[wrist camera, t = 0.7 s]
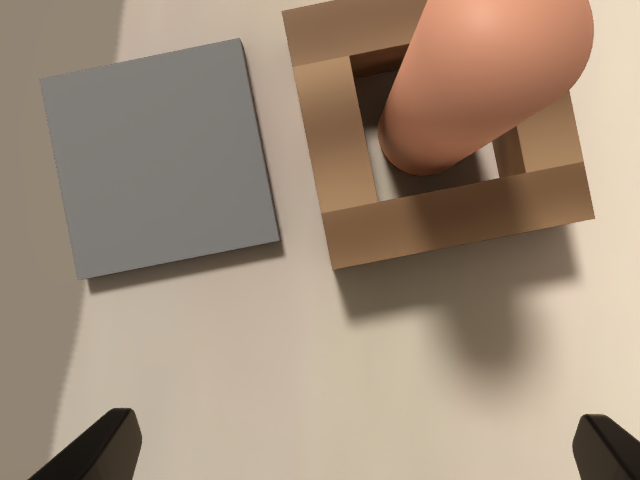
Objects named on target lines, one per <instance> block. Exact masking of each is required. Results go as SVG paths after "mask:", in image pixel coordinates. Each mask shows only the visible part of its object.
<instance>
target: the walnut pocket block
mask: <svg viewBox="0 0 640 480" xmlns="http://www.w3.org/2000/svg"><path fill="white" fill-rule="evenodd" d="M426 3H427V0H334V1H329V2H324V3H319V4H314V5H309V6H304V7H300V8H295V9H290V10H285V11H282V15H283V21H284V26H285V31H286V36H287V41H288V46H289V51H290V56H291V61H292V66H293V71H294V77H295V82H296V87H297V92H298V97H299V102H300V107H301V112H302V117H303V122H304V127H305V133H306V138H307V143H308V148H309V153H310V158H311V163H312V168H313V173H314V178H315V183H316V188H317V194H318V199H319V204H320V209H321V214H322V219H323V224H324V229H325V234H326V239H327V244H328V250H329V255H330V260H331V265H332V270H334V269H339V268H344V267H350V266H355V265H360V264H365V263H370V262H375V261H380V260H385V259H390V258H396V257H401V256H406V255H411V254H416V253H421V252H426V251H431V250H437V249H442V248H447V247H452V246H457V245H462V244H467V243H472V242H478V241H483V240H488V239H493V238H498V237H503V236H508V235H513V234H518V233H524V232H529V231H534V230H539V229H544V228H549V227H554V226H559V225H565V224H570V223H575V222H580V221H585V220H590V219H595V216H594V211H593V206H592V201H591V196H590V191H589V186H588V181H587V176H586V171H585V166H584V161H583V156H582V151H581V146H580V141H579V136H578V132H577V127H576V122H575V117H574V112H573V107H572V102H571V97H570V92H569V91H567V92H566V93H565V94H564V95H563V96H562V97H561V98H559V99H558V100H557V101H555V102H554V103H552V104H551V105H549V106H547V107H546V108H544V109H542V110H541V111H539V112H538V113H536V114H534V115H533V116H531V117H530V118H528V119H526V120H525V121H523V122H522V123H520V124H518V125H517V126H515V127H514V128H512V129H510V130H509V131H507V132H506V133H504V134H502V135H501V136H499V137H498V138H496V139H494V140H493V146H494V151H495V156H496V161H497V166H498V171H499V176H500V178H498V179H493V180H488V181H483V182H478V183H473V184H467V185H462V186H457V187H452V188H447V189H442V190H437V191H432V192H427V193H422V194H417V195H412V196H407V197H402V198H397V199H392V200H387V201H381V202H378V200H377V195H376V190H375V185H374V180H373V175H372V170H371V165H370V160H369V154H368V149H367V144H366V139H365V134H364V129H363V124H362V119H361V114H360V109H359V104H358V99H357V94H356V89H355V84H354V79H353V78H357V77H362V76H367V75H372V74H377V73H382V72H387V71H392V70H397V69H400V67H401V64H402V62H403V59H404V57H405V54H406V52H407V49H408V47H409V45H410V42H411V40H412V37H413V35H414V32H415V30H416V27H417V25H418V22H419V20H420V18H421V15H422V13H423V10H424V8H425V5H426Z"/></svg>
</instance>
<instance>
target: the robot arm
mask: <svg viewBox="0 0 640 480" xmlns="http://www.w3.org/2000/svg"><path fill="white" fill-rule="evenodd" d="M141 445H142V434H141V431H140V427H139V424H138V421H137V418H136V415H135V412H134V410H133V409H131V408H113V409H111V410H109V411H108V412H107V413H106V414H105V415H103V416H102V417H101V418H100V419H99V420H97V421H96V422H95V423H94V424H93V425H92V426H90V427H89V428H88V429H87V430H86V431H85V432H83V433H82V434H81V435H80V436H79V437H77V438H76V439H75V440H74V441H73V442H72V443H70V444H69V445H68V446H67V447H66V448H64V449H63V450H62V451H61V452H60V453H59V454H57V455H56V456H55V457H54V458H53V459H51V460H50V461H49V462H48V463H47V464H46V465H44V466H43V467H42V468H41V469H40V470H39V471H37V472H36V473H35V474H34V475H33V476H32V477H30V478H29V479H28V480H132V478H133V475H134V471H135V467H136V464H137V460H138V457H139V453H140V449H141ZM572 447H573V454H574V458H575V461H576V464H577V467H578V470H579V474H580V477H581V480H640V442H639V441H638V440H637V439H636V438H634V437H633V436H632V435H631V434H629V433H628V432H627V431H626V430H624V429H623V428H622V427H621V426H619V425H618V424H617V423H616V422H614V421H613V420H612V419H611V418H609V417H608V416H606V415H602V414H585V415H583V416H582V417H581V418H580V421H579V424H578V427H577V430H576V433H575V436H574V439H573V445H572Z"/></svg>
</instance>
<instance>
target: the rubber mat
mask: <svg viewBox="0 0 640 480" xmlns="http://www.w3.org/2000/svg"><path fill="white" fill-rule="evenodd" d="M40 84H41V90H42V95H43V100H44V106H45V111H46V116H47V121H48V126H49V131H50V137H51V142H52V147H53V152H54V158H55V163H56V168H57V173H58V178H59V184H60V189H61V194H62V199H63V205H64V210H65V215H66V221H67V225H68V231H69V236H70V241H71V246H72V252H73V257H74V262H75V267H76V273H77V278H78V280H82V279H88V278H94V277H99V276H104V275H109V274H114V273H119V272H124V271H129V270H134V269H139V268H144V267H149V266H154V265H160V264H165V263H170V262H175V261H180V260H185V259H190V258H195V257H200V256H205V255H210V254H215V253H221V252H226V251H231V250H236V249H241V248H246V247H251V246H256V245H261V244H266V243H271V242H276V241H281V238H280V233H279V227H278V222H277V217H276V212H275V207H274V202H273V197H272V192H271V187H270V181H269V176H268V171H267V166H266V161H265V156H264V151H263V146H262V141H261V135H260V130H259V125H258V120H257V115H256V110H255V105H254V100H253V95H252V89H251V84H250V79H249V74H248V69H247V64H246V59H245V54H244V48H243V44H242V42H241V40H240V38H237V39H232V40H227V41H222V42H217V43H213V44H208V45H203V46H198V47H193V48H188V49H183V50H178V51H174V52H169V53H164V54H159V55H154V56H149V57H144V58H139V59H135V60H130V61H125V62H120V63H115V64H111V65H105V66H101V67H96V68H91V69H86V70H81V71H76V72H71V73H67V74H61V75H57V76H52V77H47V78H42V79H40Z"/></svg>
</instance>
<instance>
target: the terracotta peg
mask: <svg viewBox="0 0 640 480" xmlns="http://www.w3.org/2000/svg"><path fill="white" fill-rule="evenodd" d="M593 37H594V23H593V16H592V11H591V7H590V4H589V1H588V0H427V3H426V5H425V8H424V10H423V13H422V15H421V18H420V20H419V22H418V25H417V27H416V30H415V32H414V35H413V37H412V40H411V42H410V45H409V47H408V49H407V52H406V54H405V57H404V59H403V62H402V64H401V67H400V69H399V72H398V74H397V76H396V79H395V81H394V84H393V86H392V89H391V91H390V94H389V96H388V99H387V101H386V103H385V106H384V108H383V111H382V113H381V116H380V119H379V124H378V138H379V143H380V146H381V148H382V151H383V152H384V154H385V156H386V157H387V159H388V160H389V161H390V162H391V163H392V164H393V165H394V166H396V167H397V168H398V169H400V170H402V171H404V172H406V173H409V174H412V175H418V176H428V175H434V174H438V173H440V172H443V171H444V170H446V169H448V168H450V167H451V166H453V165H454V164H456V163H458V162H459V161H461V160H462V159H464V158H466V157H467V156H469V155H470V154H472V153H474V152H475V151H477V150H478V149H480V148H482V147H483V146H485V145H486V144H488V143H490V142H491V141H493V140H494V139H496V138H498V137H499V136H501V135H502V134H504V133H506V132H507V131H509V130H510V129H512V128H514V127H515V126H517V125H518V124H520V123H522V122H523V121H525V120H526V119H528V118H530V117H531V116H533V115H534V114H536V113H538V112H539V111H541V110H542V109H544V108H546V107H547V106H549V105H551V104H552V103H554V102H555V101H557V100H558V99H559V98H561V97H562V96H563V95H564V94H565V93H566V92H567V91H569V90H570V89H571V88H572V86H573V85H574V84H575V83H576V81H577V80H578V79H579V77H580V76H581V74H582V72H583V70H584V69H585V67H586V64H587V62H588V59H589V57H590V53H591V49H592V44H593Z"/></svg>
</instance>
